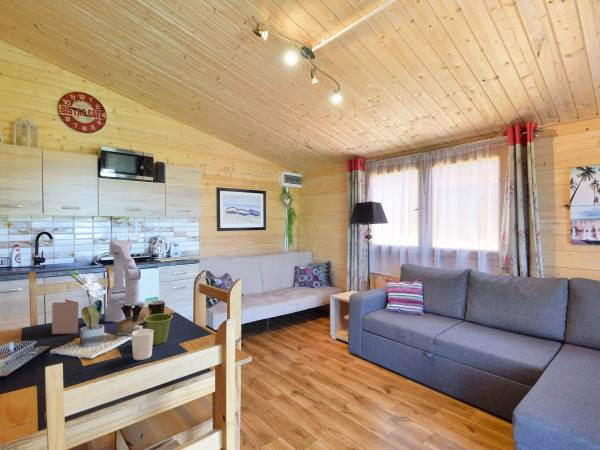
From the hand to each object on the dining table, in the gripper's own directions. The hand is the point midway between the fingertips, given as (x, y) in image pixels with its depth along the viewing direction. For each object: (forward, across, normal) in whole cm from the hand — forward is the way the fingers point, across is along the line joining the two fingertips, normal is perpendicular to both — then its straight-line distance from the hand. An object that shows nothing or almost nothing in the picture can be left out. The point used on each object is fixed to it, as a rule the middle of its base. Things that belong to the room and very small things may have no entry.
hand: (131, 320), depth 157 cm
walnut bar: (+2, 0, 0) cm, 2 cm away
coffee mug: (+6, +1, +18) cm, 19 cm away
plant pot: (+6, +20, -8) cm, 22 cm away
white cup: (+6, +23, -23) cm, 33 cm away
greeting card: (+6, -30, -8) cm, 32 cm away
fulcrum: (+6, 0, 0) cm, 6 cm away
